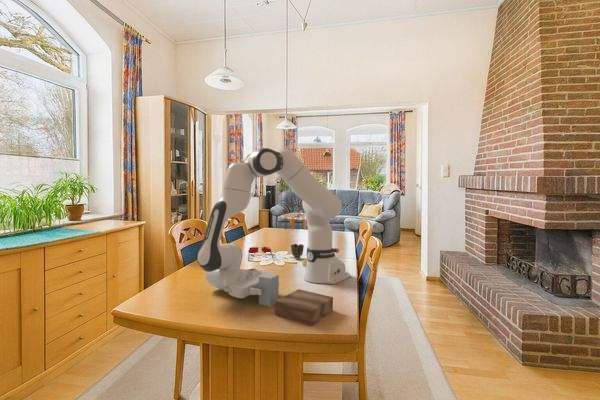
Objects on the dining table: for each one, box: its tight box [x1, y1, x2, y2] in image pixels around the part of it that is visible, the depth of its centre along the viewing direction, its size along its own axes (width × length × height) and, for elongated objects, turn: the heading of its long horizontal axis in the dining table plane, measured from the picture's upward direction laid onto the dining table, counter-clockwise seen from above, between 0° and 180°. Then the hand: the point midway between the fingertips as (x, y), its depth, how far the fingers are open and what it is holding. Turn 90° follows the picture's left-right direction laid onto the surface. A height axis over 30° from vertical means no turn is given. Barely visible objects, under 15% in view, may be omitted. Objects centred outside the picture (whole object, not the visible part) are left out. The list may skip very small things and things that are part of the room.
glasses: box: [247, 246, 274, 261], centre depth 179 cm, size 14×16×5 cm
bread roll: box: [301, 258, 307, 267], centre depth 163 cm, size 8×9×4 cm
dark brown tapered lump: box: [290, 243, 305, 259], centre depth 177 cm, size 8×7×8 cm
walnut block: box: [274, 288, 334, 327], centre depth 103 cm, size 14×14×5 cm
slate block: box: [258, 272, 280, 308], centre depth 111 cm, size 5×5×10 cm
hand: (270, 288), depth 111 cm, fingers open, 8 cm apart
